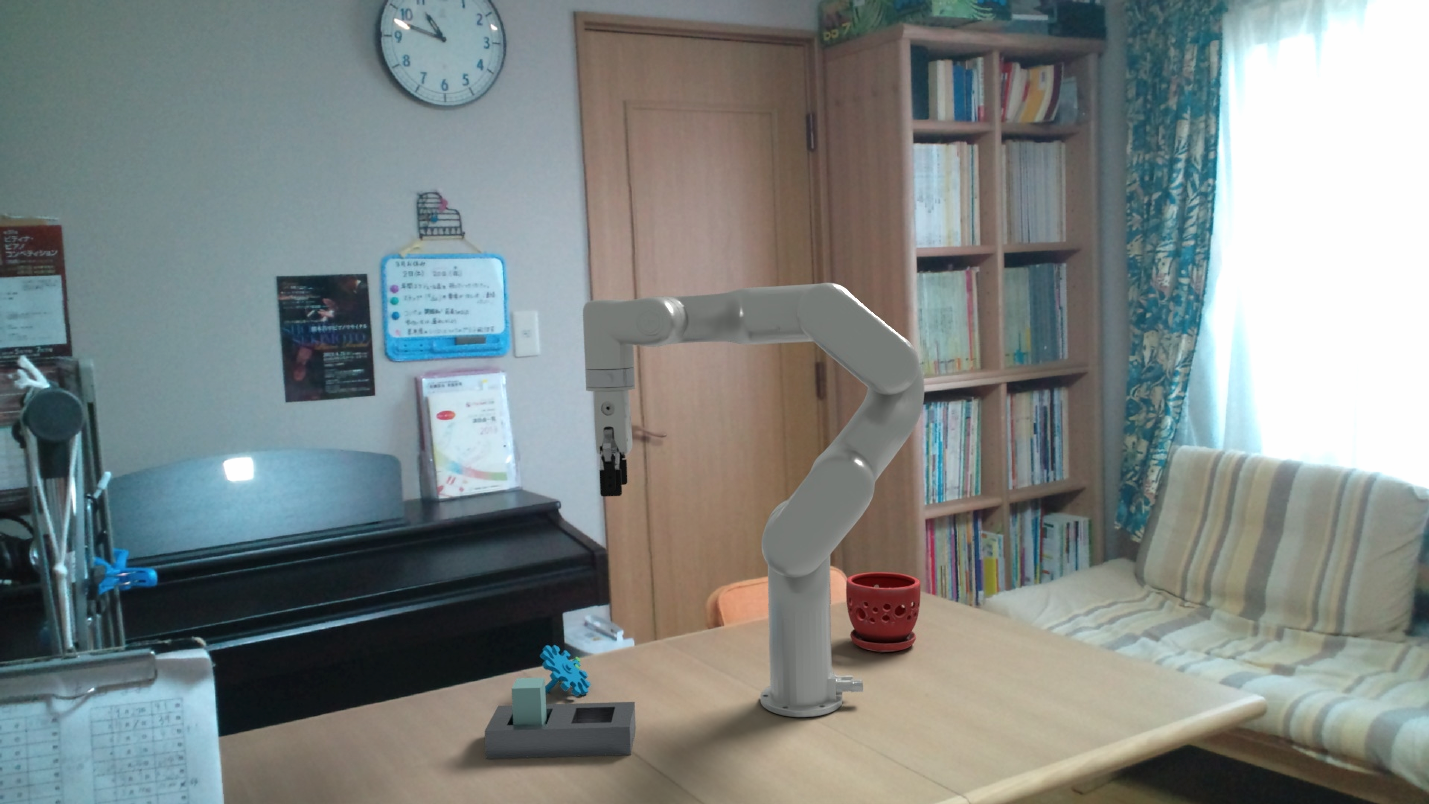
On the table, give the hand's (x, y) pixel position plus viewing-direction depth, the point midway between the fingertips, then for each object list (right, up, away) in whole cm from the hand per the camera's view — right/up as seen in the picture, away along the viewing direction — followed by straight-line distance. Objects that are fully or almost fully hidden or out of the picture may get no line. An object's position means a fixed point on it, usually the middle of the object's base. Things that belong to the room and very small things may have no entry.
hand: (614, 490), depth 160 cm
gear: (-8, -33, +7) cm, 35 cm away
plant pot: (+46, -30, +25) cm, 60 cm away
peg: (-11, -35, -13) cm, 39 cm away
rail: (-6, -35, -13) cm, 38 cm away
